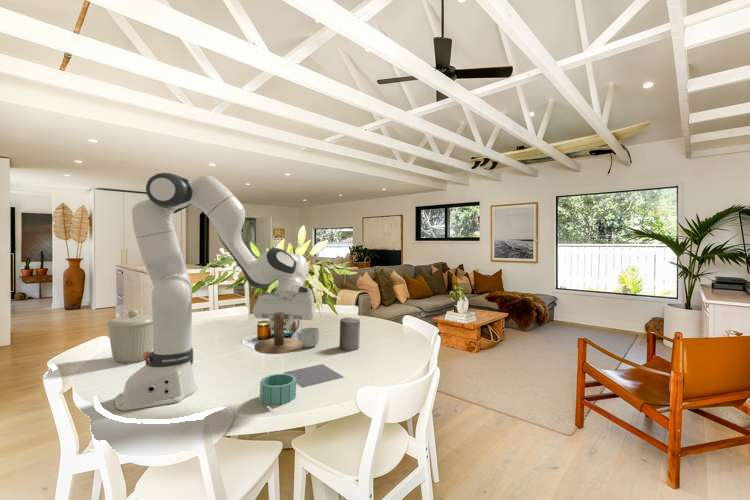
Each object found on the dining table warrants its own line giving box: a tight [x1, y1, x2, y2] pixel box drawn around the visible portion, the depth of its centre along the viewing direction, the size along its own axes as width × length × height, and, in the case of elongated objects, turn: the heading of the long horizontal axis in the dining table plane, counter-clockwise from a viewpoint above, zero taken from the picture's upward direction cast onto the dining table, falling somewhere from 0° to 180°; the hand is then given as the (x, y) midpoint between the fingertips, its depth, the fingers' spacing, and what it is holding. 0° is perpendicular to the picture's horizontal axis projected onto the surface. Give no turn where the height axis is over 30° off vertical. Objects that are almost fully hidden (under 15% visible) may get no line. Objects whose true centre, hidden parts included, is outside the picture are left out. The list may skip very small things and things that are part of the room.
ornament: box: [284, 319, 300, 334], centre depth 188 cm, size 15×15×15 cm
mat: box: [282, 363, 344, 389], centre depth 133 cm, size 17×17×1 cm
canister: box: [106, 309, 153, 364], centre depth 148 cm, size 18×18×21 cm
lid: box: [253, 312, 304, 355], centre depth 113 cm, size 15×15×11 cm
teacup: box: [296, 326, 320, 348], centre depth 174 cm, size 14×11×8 cm
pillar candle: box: [339, 317, 361, 352], centre depth 170 cm, size 10×10×15 cm
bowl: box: [259, 373, 297, 407], centre depth 114 cm, size 11×11×6 cm
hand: (278, 329), depth 113 cm, fingers closed on lid, 3 cm apart
